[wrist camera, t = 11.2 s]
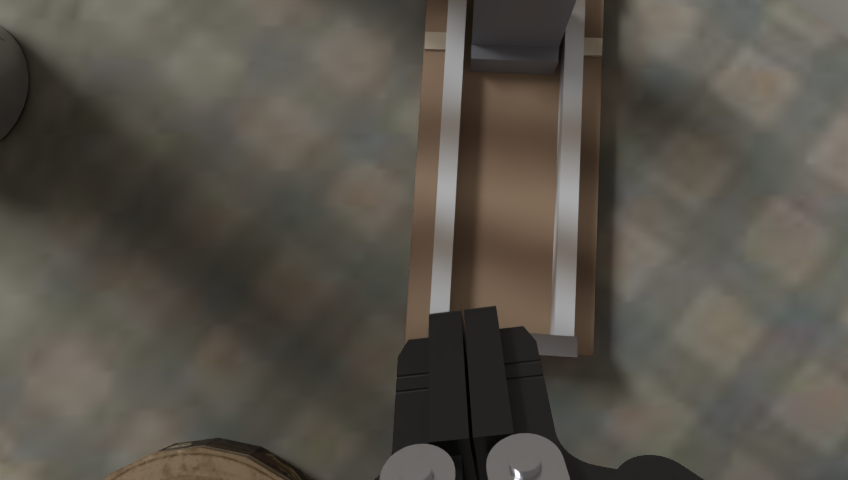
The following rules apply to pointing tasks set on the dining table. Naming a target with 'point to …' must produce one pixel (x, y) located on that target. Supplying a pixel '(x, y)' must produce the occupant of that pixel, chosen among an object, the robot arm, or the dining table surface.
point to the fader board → (508, 184)
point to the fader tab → (518, 35)
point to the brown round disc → (210, 463)
